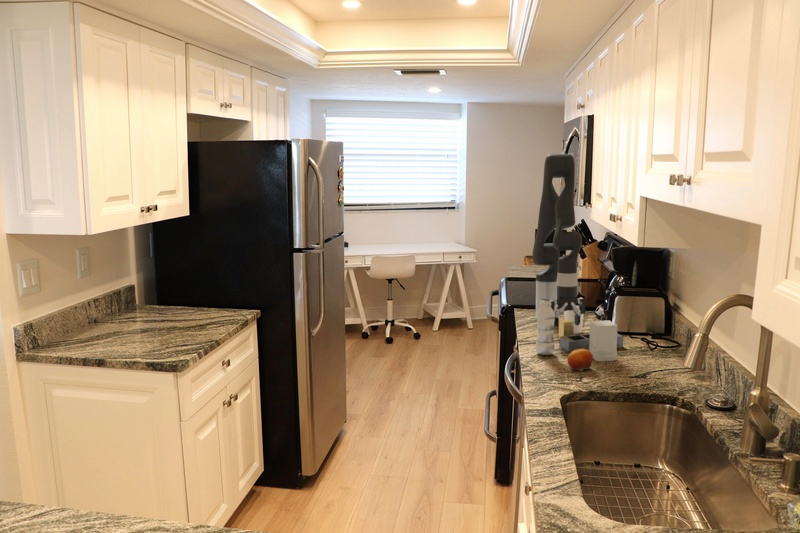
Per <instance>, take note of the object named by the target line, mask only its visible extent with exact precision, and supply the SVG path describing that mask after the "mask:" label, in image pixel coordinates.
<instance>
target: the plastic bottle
mask: <svg viewBox="0 0 800 533" xmlns="http://www.w3.org/2000/svg"><path fill="white" fill-rule="evenodd" d="M540 305H541V307H540V308H539V310H538V311H537V314H536V313H535V318H536V317H537V319H536V323H537V334H536V335H537V336H536V342H535V351H536V353H537V354H538V355H541V356H549V355H552V354H553V353H555V341H554V327H555V326H554V320H555V312H554V311H553V309H552V308H551V300H550V299H541V300H540Z"/></svg>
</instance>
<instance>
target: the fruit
mask: <svg viewBox="0 0 800 533" xmlns="http://www.w3.org/2000/svg"><path fill="white" fill-rule="evenodd" d="M567 364H568V366H569V367H570V369H572V370H575V371H580V372H583V370H592V368H591V366H592V364H593V355H592V354H591V352H590V351H589V350H586V349H577V350H574V351H572V352H569V354H568V355H567Z"/></svg>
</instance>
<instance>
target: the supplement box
mask: <svg viewBox="0 0 800 533" xmlns="http://www.w3.org/2000/svg"><path fill="white" fill-rule="evenodd" d="M589 334H590V342H589V351H590V352H591V354H592V355H593V359H594V361H595V362H612V361H614V360H615V361H617V355H618V353H617V352H618V350H617V348H618V347H617V334H618V324H616V323H615V322H613V321H611V320H594V321H593V320H591V321H589Z"/></svg>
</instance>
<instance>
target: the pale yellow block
mask: <svg viewBox="0 0 800 533" xmlns="http://www.w3.org/2000/svg"><path fill="white" fill-rule="evenodd" d="M573 327H574V322H573V321H571V320H569V319H564V318H563V319H559V327H558V341H559V340H560V337H561V336H571V335H574V334H573Z"/></svg>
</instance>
